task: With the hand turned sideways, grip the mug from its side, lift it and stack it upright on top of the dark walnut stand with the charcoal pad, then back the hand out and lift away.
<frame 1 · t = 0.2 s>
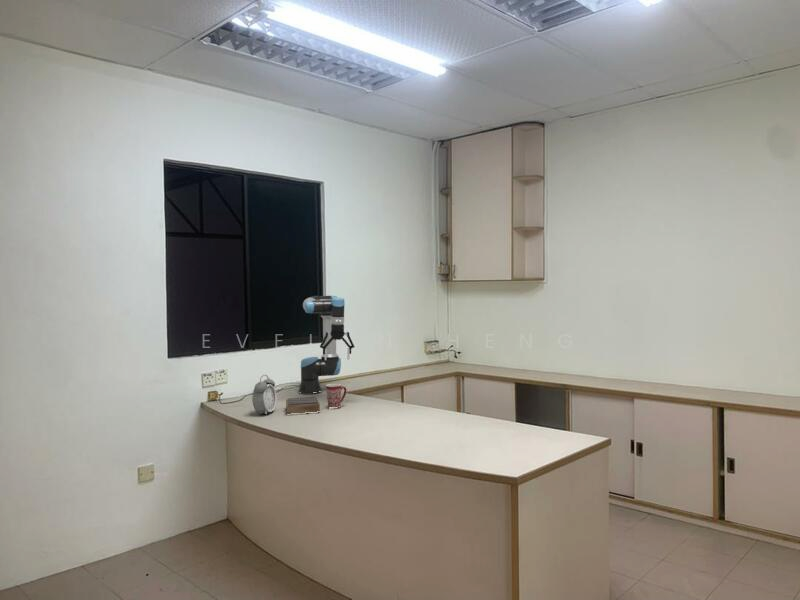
hand: (336, 359, 328), 28 cm above the table, tool pointing down, fingers open, 13 cm apart
walnut stand: (302, 410, 318), on the table
alarm clock: (264, 414, 312), on the table
mug: (336, 407, 325), on the table
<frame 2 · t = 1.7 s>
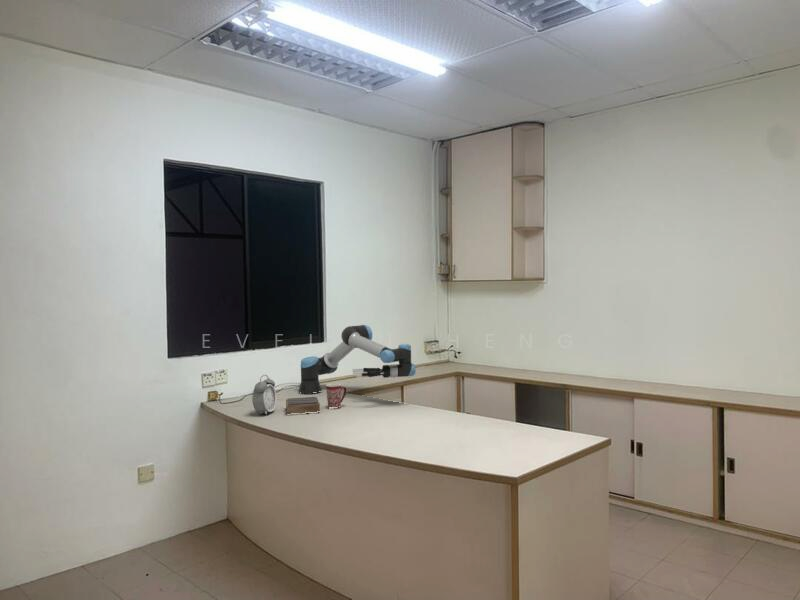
hand: (354, 373, 327), 20 cm above the table, tool horizontal, fingers open, 13 cm apart
nothing on the table moved.
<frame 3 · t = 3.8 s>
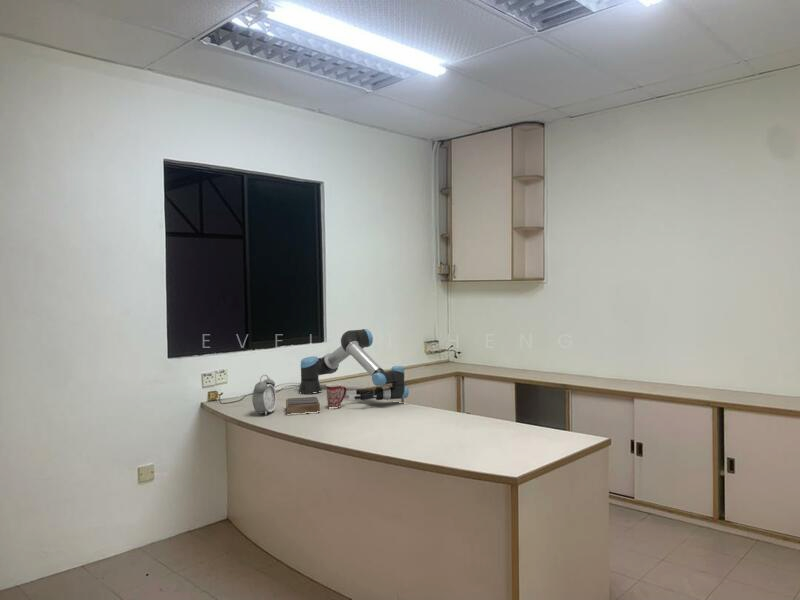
hand: (347, 395, 326), 7 cm above the table, tool horizontal, fingers open, 13 cm apart
nothing on the table moved.
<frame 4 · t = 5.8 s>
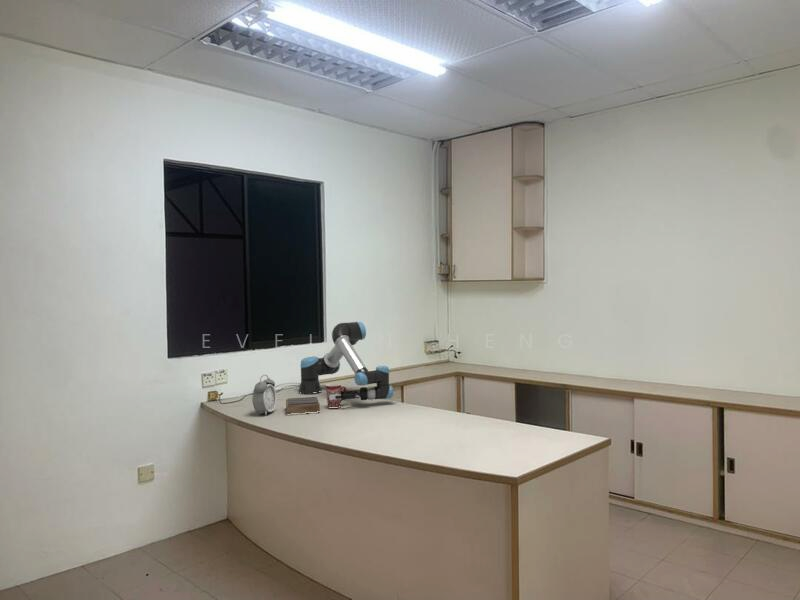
hand: (328, 395, 324), 7 cm above the table, tool horizontal, fingers closed on mug, 8 cm apart
mug: (336, 407, 325), on the table, touching gripper
everything else where it was.
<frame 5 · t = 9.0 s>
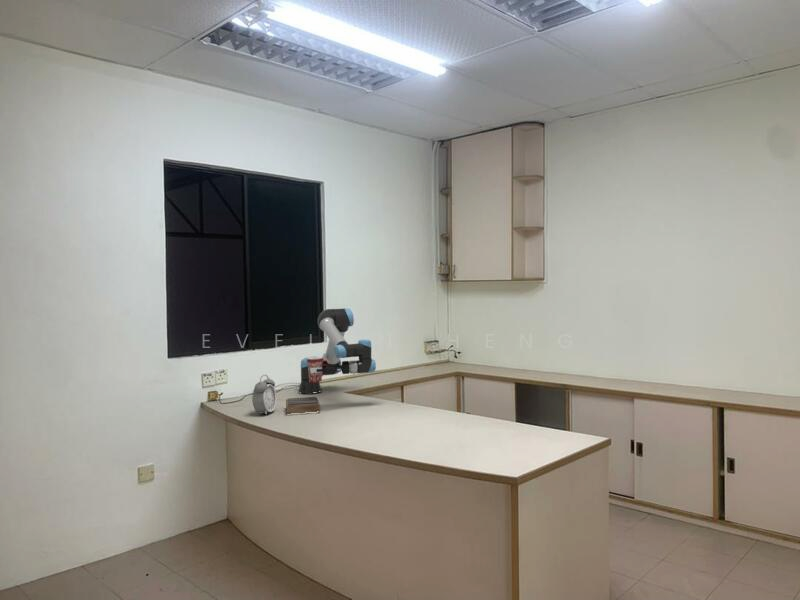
hand: (309, 369, 318), 24 cm above the table, tool horizontal, fingers closed on mug, 8 cm apart
mug: (318, 381, 320), point 16 cm above the table, touching gripper
everything else where it was.
when the fingers open (14 cm above the table, at t = 12.3 s): mug drops 1 cm, resting on walnut stand.
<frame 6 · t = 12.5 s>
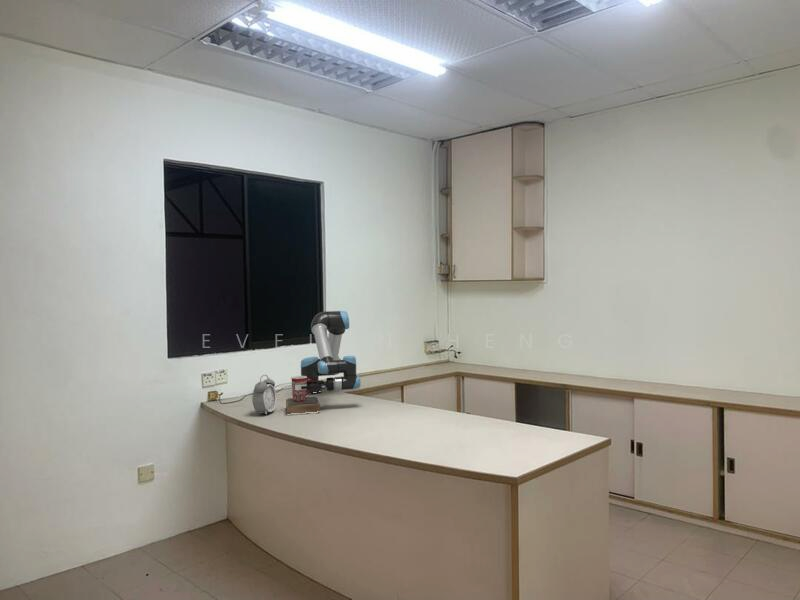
hand: (294, 386, 317), 14 cm above the table, tool horizontal, fingers open, 10 cm apart
mug: (302, 400, 318), point 6 cm above the table, touching walnut stand
everything else where it was.
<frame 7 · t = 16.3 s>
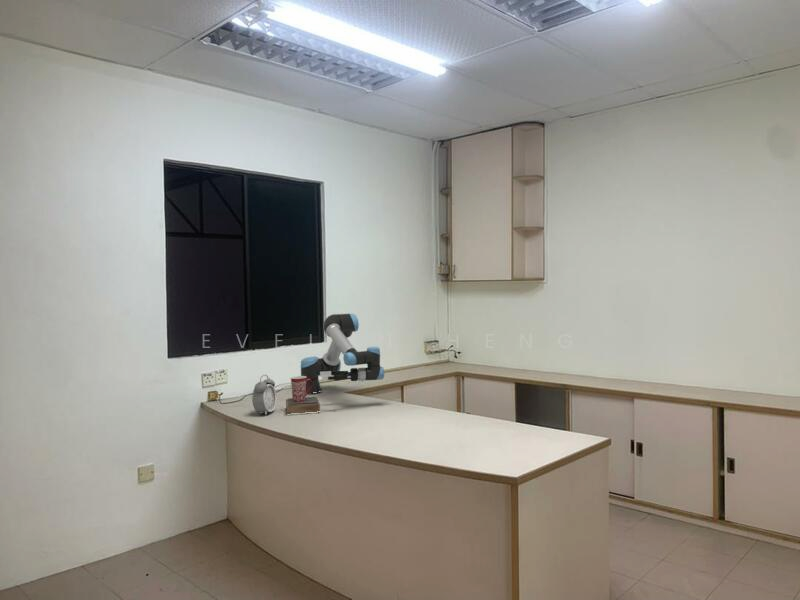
hand: (320, 376, 319), 19 cm above the table, tool horizontal, fingers open, 13 cm apart
nothing on the table moved.
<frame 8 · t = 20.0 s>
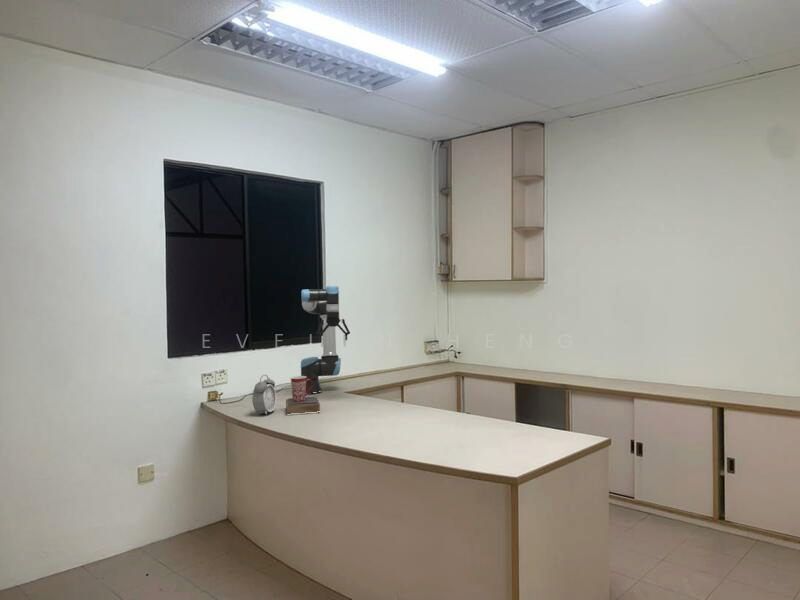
hand: (333, 346, 336), 35 cm above the table, tool pointing down, fingers open, 13 cm apart
nothing on the table moved.
at the end: mug inside the target area on the walnut stand (0.5 cm from its centre), point 5.8 cm above the walnut stand's base; mug tilted 0°; the gripper is holding nothing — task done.
